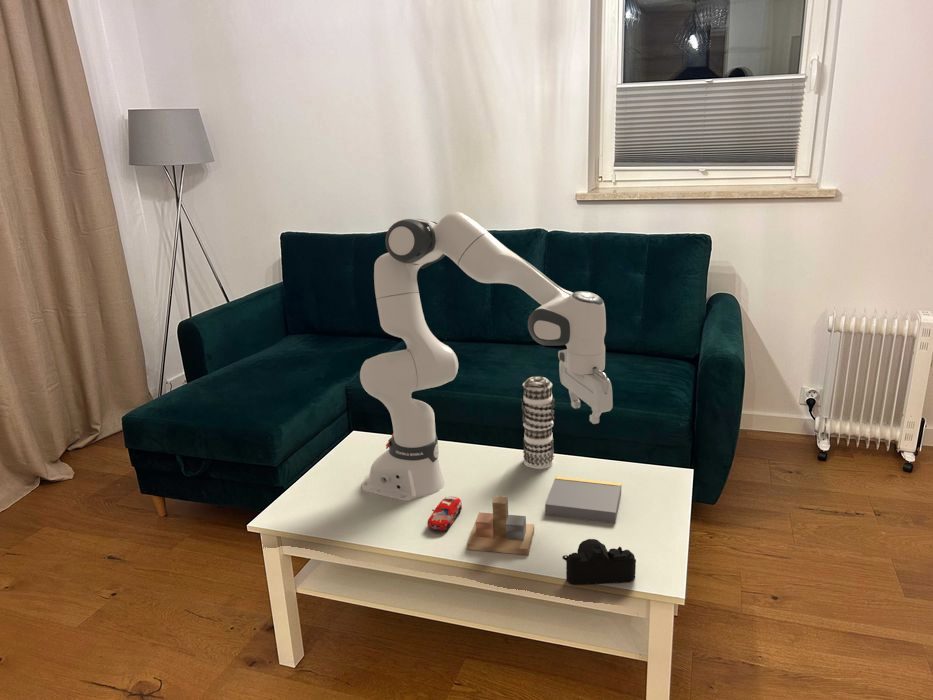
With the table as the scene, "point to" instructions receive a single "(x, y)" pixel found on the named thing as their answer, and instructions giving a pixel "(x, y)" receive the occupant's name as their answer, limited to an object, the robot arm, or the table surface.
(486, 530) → the terracotta crate
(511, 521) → the gray cube
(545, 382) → the decorative candle
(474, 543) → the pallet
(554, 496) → the plate
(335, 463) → the table surface
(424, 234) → the robot arm
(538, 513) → the table surface
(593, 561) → the film camera
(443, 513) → the race car
